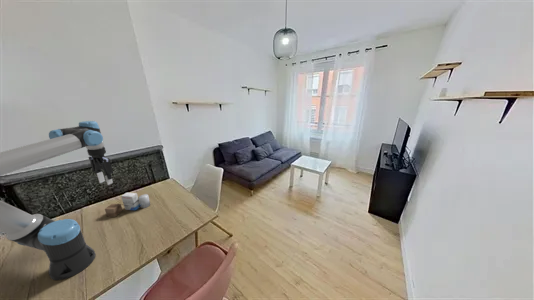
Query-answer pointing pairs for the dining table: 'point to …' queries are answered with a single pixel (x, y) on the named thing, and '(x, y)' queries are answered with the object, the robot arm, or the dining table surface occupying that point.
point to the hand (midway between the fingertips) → (106, 182)
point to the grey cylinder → (144, 201)
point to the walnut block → (113, 210)
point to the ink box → (130, 201)
